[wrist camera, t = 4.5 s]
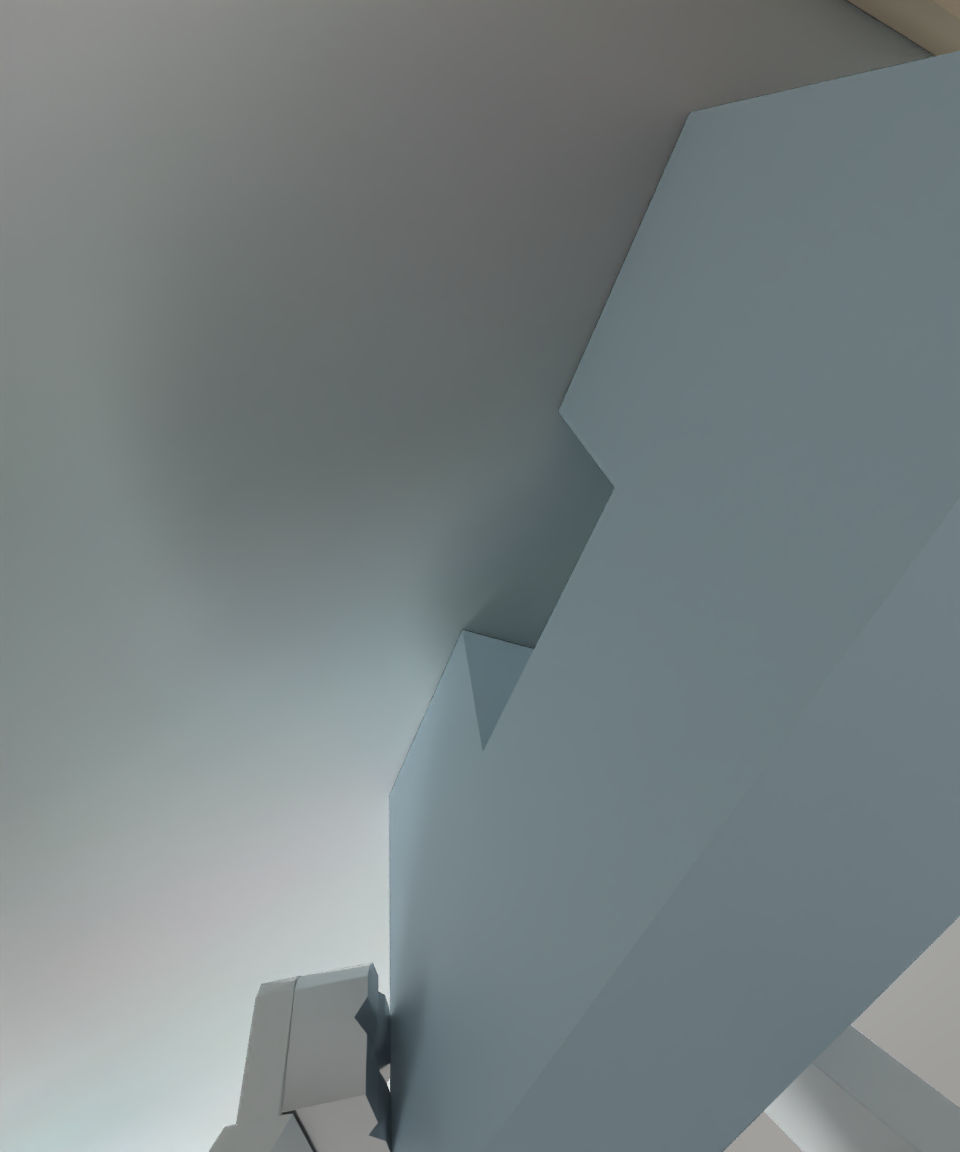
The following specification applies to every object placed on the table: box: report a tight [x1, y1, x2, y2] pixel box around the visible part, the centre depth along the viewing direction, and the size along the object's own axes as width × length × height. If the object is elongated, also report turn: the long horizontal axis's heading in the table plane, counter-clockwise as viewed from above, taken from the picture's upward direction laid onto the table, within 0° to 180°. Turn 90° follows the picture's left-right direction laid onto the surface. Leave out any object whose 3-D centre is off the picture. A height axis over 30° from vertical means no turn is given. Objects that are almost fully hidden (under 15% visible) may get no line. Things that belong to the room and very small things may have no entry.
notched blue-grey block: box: [389, 51, 960, 1152], centre depth 9 cm, size 12×2×7 cm, turn 159°
